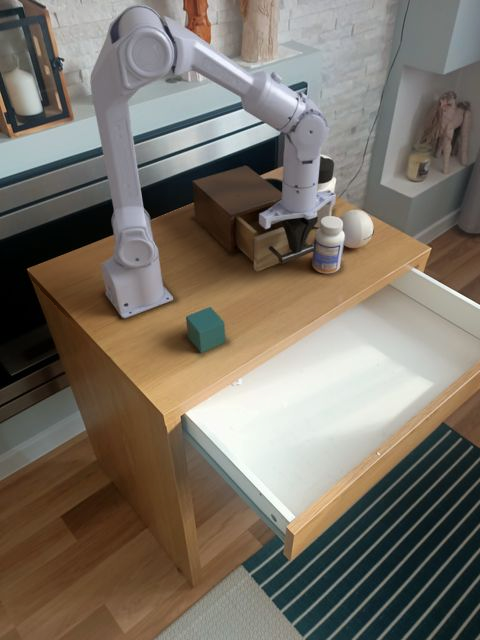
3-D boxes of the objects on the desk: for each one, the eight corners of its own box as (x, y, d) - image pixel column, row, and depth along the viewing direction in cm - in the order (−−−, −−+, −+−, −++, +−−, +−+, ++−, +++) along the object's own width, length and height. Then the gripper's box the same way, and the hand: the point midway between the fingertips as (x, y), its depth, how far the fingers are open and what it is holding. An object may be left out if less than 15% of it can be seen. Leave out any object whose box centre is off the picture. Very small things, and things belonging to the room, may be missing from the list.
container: (328, 229, 114) (335, 170, 104) (291, 224, 115) (295, 165, 105) (332, 210, 119) (339, 152, 110) (296, 205, 120) (301, 147, 111)
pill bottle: (321, 254, 108) (326, 209, 101) (345, 264, 105) (352, 219, 99) (306, 267, 104) (310, 222, 98) (330, 278, 102) (337, 233, 95)
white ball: (355, 260, 106) (361, 227, 101) (325, 244, 110) (329, 211, 105) (386, 240, 111) (393, 208, 106) (356, 225, 115) (362, 193, 110)
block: (201, 353, 88) (199, 332, 85) (187, 336, 91) (185, 316, 87) (225, 342, 90) (224, 322, 87) (211, 326, 92) (210, 306, 89)
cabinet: (284, 234, 112) (286, 196, 106) (231, 253, 107) (230, 214, 101) (246, 202, 120) (246, 165, 114) (195, 218, 115) (192, 180, 109)
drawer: (322, 265, 104) (325, 234, 99) (271, 285, 99) (272, 253, 94) (268, 219, 114) (269, 189, 109) (220, 236, 110) (219, 205, 105)
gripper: (277, 203, 84) (274, 274, 93) (351, 178, 90) (341, 248, 99) (252, 183, 88) (252, 253, 98) (324, 160, 94) (317, 229, 103)
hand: (295, 249), depth 99 cm, fingers closed, pressing on drawer
